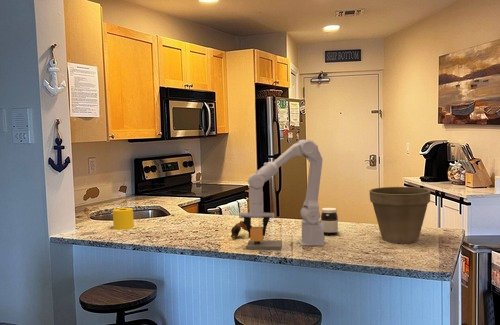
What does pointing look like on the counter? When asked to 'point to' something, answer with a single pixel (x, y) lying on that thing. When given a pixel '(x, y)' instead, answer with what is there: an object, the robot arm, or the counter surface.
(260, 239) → the solid orange cube
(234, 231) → the brown curved arch
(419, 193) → the plant pot
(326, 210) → the spread jar
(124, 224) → the yellow toilet paper roll
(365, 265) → the counter surface
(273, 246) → the grey flat block
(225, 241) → the counter surface
